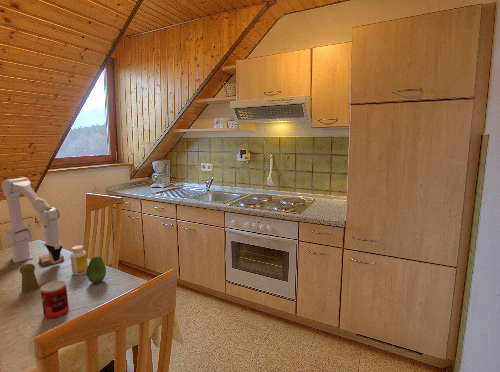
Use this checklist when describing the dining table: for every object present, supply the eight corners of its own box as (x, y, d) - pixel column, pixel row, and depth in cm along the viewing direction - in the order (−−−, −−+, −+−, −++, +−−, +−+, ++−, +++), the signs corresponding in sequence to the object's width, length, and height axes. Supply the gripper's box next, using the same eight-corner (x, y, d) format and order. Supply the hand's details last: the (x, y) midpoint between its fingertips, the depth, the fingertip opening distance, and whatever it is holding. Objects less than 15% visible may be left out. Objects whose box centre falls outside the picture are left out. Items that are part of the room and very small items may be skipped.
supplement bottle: (91, 269, 144) (88, 244, 142) (82, 275, 138) (79, 250, 136) (78, 268, 145) (75, 244, 143) (69, 275, 139) (66, 249, 136)
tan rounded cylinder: (49, 261, 148) (47, 251, 147) (59, 258, 152) (58, 248, 151) (51, 264, 145) (50, 253, 144) (62, 261, 148) (60, 251, 147)
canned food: (51, 307, 113) (47, 280, 111) (73, 306, 114) (69, 279, 112) (39, 319, 106) (35, 291, 104) (62, 318, 106) (58, 290, 104)
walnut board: (39, 261, 154) (38, 256, 154) (59, 255, 161) (58, 251, 160) (43, 266, 148) (43, 261, 148) (64, 260, 155) (63, 256, 154)
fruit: (111, 279, 134) (108, 255, 132) (95, 288, 127) (92, 262, 125) (99, 276, 137) (96, 252, 135) (83, 284, 130) (80, 258, 128)
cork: (42, 286, 128) (38, 263, 126) (28, 293, 123) (24, 269, 121) (32, 284, 130) (29, 261, 128) (18, 291, 125) (14, 267, 123)
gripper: (38, 231, 148) (42, 257, 150) (46, 238, 138) (49, 265, 140) (54, 228, 153) (58, 252, 155) (63, 234, 143) (66, 261, 145)
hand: (55, 258), depth 148 cm, fingers closed on tan rounded cylinder, 5 cm apart
